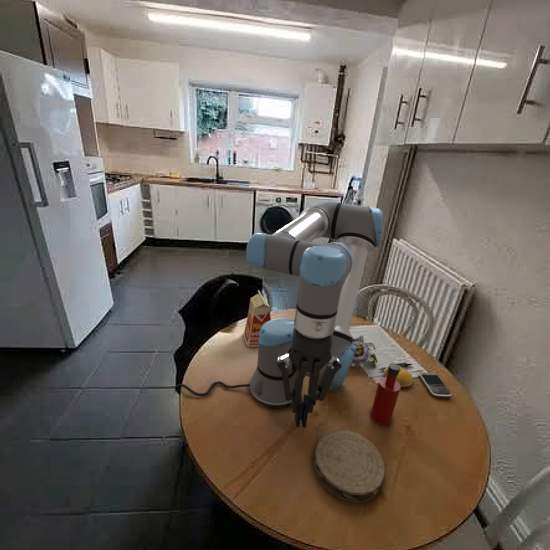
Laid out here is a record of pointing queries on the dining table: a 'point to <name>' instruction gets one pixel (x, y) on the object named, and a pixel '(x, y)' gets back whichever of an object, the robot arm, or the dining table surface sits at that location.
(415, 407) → the dining table surface
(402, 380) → the yellow rounded piece
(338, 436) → the woven round trivet
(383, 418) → the hot sauce bottle
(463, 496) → the dining table surface
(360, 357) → the passion flower
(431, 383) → the cell phone
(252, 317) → the milk carton
